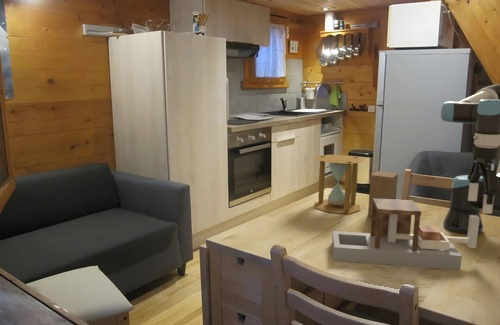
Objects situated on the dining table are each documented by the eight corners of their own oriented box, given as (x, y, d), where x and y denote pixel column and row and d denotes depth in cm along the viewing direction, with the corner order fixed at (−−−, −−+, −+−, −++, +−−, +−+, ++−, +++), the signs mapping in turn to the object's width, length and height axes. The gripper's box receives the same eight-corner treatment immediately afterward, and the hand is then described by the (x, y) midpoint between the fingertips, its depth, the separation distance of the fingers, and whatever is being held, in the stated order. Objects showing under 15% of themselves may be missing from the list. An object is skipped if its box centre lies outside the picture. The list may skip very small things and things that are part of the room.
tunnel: (409, 237, 156) (412, 199, 153) (417, 251, 142) (421, 211, 140) (370, 234, 158) (372, 197, 155) (375, 248, 145) (378, 209, 142)
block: (434, 242, 151) (435, 226, 150) (438, 248, 145) (440, 232, 144) (416, 241, 152) (418, 225, 151) (420, 247, 146) (422, 231, 145)
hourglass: (366, 204, 212) (370, 156, 207) (353, 217, 193) (356, 164, 188) (323, 197, 223) (325, 152, 218) (306, 208, 205) (308, 159, 200)
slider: (469, 241, 151) (473, 212, 148) (479, 252, 141) (483, 221, 139) (385, 236, 155) (387, 207, 153) (390, 246, 146) (392, 216, 144)
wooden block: (394, 214, 197) (398, 173, 193) (389, 220, 189) (392, 177, 185) (373, 210, 202) (376, 170, 198) (367, 216, 194) (370, 174, 190)
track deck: (446, 250, 156) (447, 238, 155) (460, 269, 140) (461, 255, 139) (332, 243, 162) (332, 231, 161) (333, 260, 147) (334, 247, 146)
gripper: (461, 139, 151) (456, 195, 156) (489, 152, 127) (481, 218, 132) (483, 140, 150) (477, 196, 155) (515, 153, 126) (506, 219, 131)
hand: (479, 206), depth 143 cm, fingers open, 13 cm apart
